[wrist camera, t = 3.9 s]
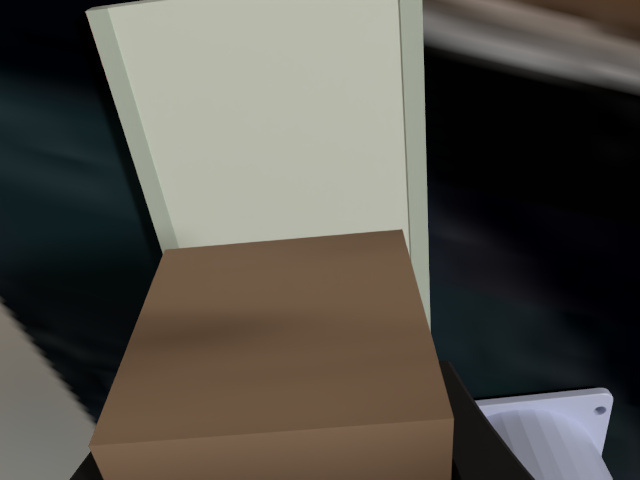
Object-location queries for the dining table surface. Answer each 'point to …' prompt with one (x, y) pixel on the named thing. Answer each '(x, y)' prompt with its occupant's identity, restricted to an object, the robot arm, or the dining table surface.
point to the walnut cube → (280, 368)
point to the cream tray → (273, 117)
